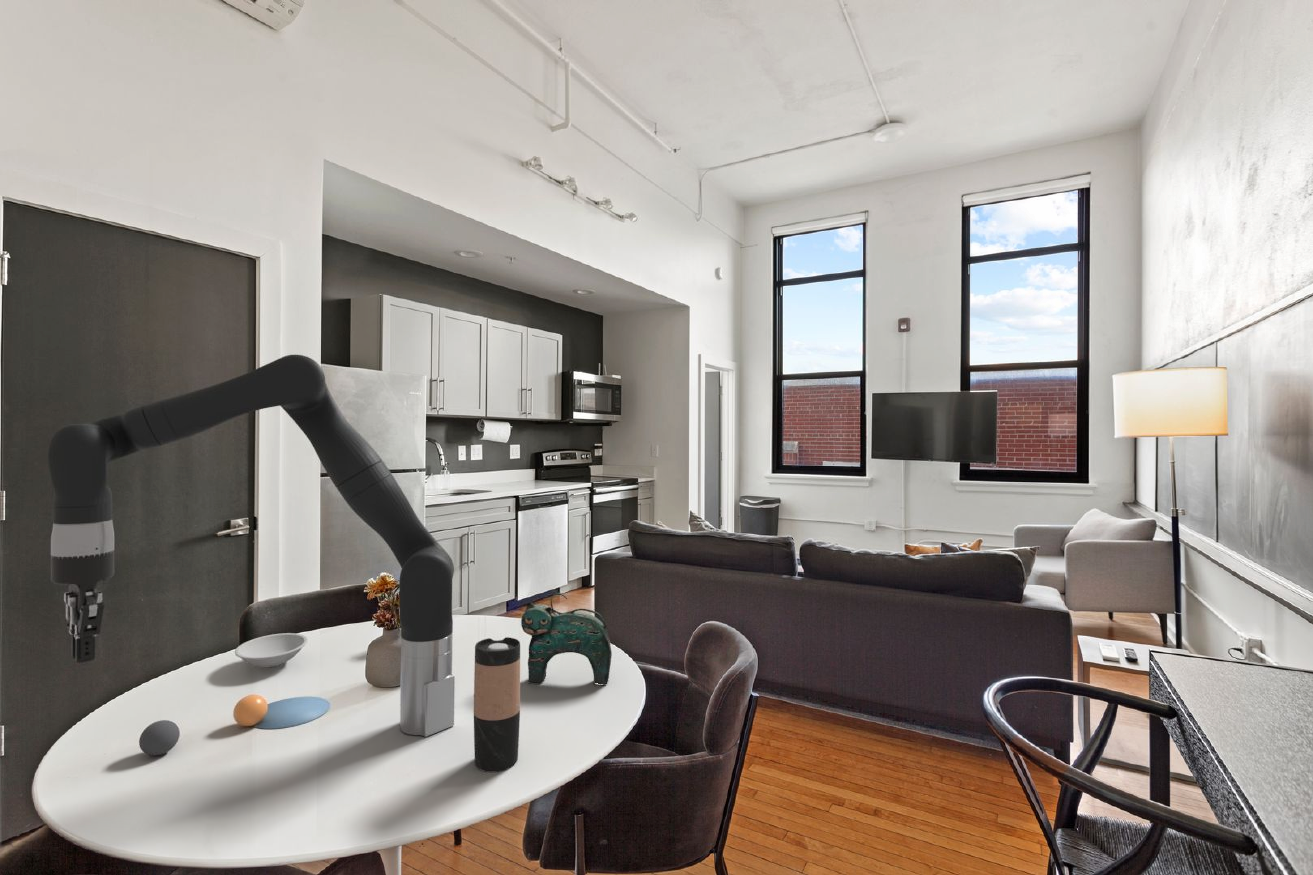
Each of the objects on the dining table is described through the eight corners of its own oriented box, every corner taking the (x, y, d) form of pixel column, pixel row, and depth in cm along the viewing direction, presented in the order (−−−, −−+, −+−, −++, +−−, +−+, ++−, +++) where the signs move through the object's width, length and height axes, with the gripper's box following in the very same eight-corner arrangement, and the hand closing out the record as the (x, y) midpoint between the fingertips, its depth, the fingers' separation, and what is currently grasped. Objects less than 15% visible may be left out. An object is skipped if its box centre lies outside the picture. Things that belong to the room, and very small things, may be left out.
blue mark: (343, 710, 128) (343, 709, 128) (266, 736, 117) (266, 734, 117) (310, 691, 137) (310, 690, 137) (236, 714, 126) (236, 713, 126)
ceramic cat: (519, 685, 142) (520, 594, 142) (526, 674, 149) (527, 587, 148) (609, 688, 141) (610, 597, 141) (612, 677, 148) (614, 589, 147)
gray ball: (184, 752, 111) (184, 720, 111) (144, 765, 107) (144, 732, 107) (173, 742, 114) (173, 711, 114) (134, 754, 110) (135, 722, 110)
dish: (249, 655, 158) (249, 635, 158) (314, 650, 162) (314, 631, 162) (223, 683, 141) (223, 660, 141) (296, 677, 145) (297, 655, 145)
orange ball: (272, 723, 122) (272, 694, 122) (239, 734, 118) (240, 704, 118) (260, 715, 125) (260, 687, 125) (228, 725, 121) (228, 696, 121)
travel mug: (495, 777, 104) (497, 654, 104) (463, 764, 109) (464, 645, 108) (528, 757, 111) (530, 641, 111) (496, 745, 115) (498, 633, 115)
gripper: (125, 552, 101) (125, 662, 101) (102, 541, 109) (102, 643, 110) (61, 559, 95) (60, 676, 95) (42, 547, 103) (41, 655, 104)
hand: (83, 658), depth 102 cm, fingers closed
